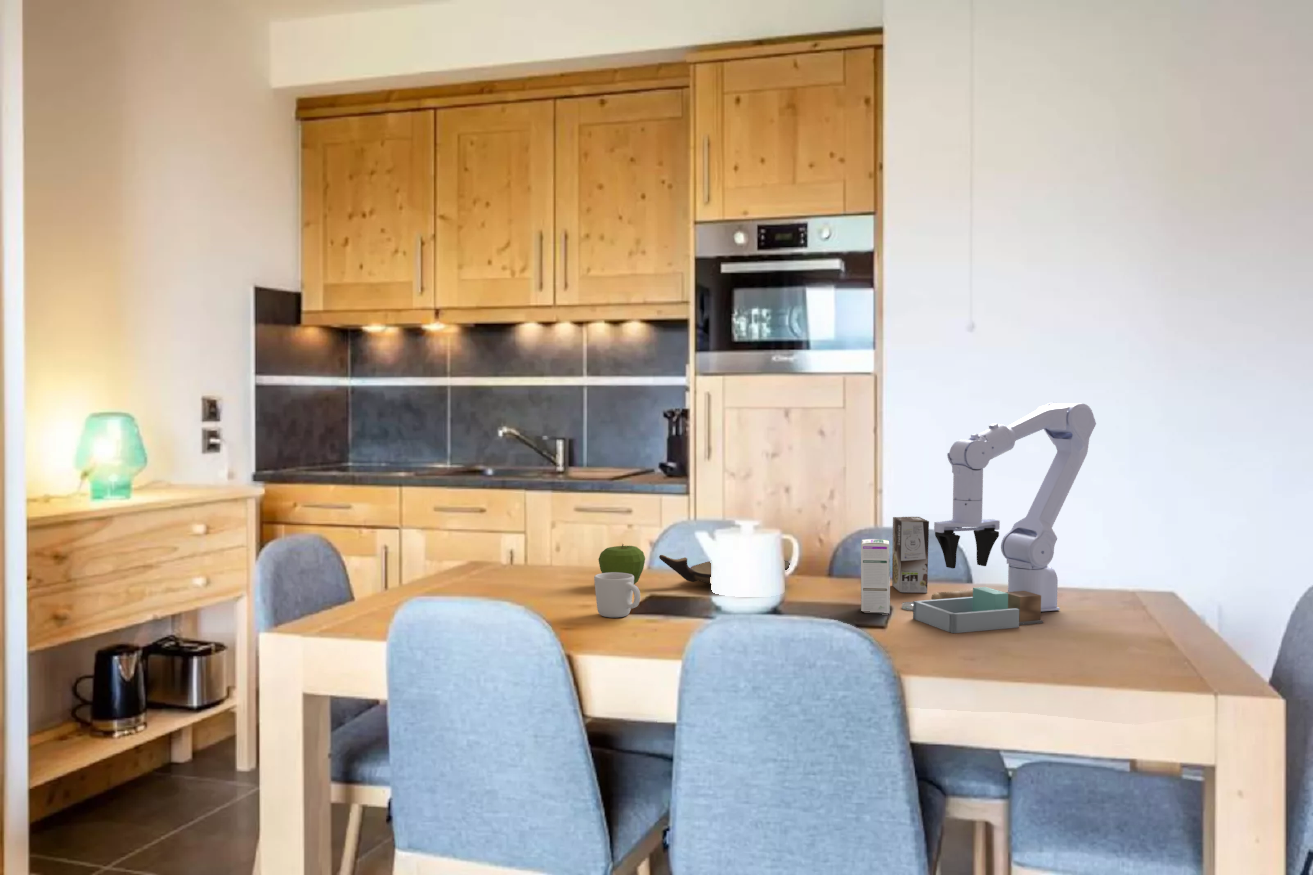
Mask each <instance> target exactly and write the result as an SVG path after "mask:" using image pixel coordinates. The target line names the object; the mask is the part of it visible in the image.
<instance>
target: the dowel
mask: <svg viewBox="0 0 1313 875" xmlns="http://www.w3.org/2000/svg"><path fill="white" fill-rule="evenodd" d="M962 597H973V589H968V590H967V589H965V590H953V591H944V592H943V591H940V592H939V591H937V592H933V594H932V595H931V599H930V600H936V599H949V598H962Z"/></svg>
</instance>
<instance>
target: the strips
mask: <svg viewBox="0 0 1313 875" xmlns="http://www.w3.org/2000/svg"><path fill="white" fill-rule="evenodd" d="M1036 623H1037V624H1043V623H1044V620H1036V621H1024V622H1019V626H1024V625H1035V624H1036Z"/></svg>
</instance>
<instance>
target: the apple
mask: <svg viewBox="0 0 1313 875" xmlns="http://www.w3.org/2000/svg"><path fill="white" fill-rule="evenodd" d="M597 560H598V565H599V569H600V572H601V573H611V572H618V573H628V574H632V575H633V576H634V585H636V584H637V583H638V582H639V579H640V577H641V576H642V573H643V570H644V567H645V563H646V557H645V554H644V552H643V550H641V549H640V548H639V547H637V546H634V545H624V544H623V543H622V544H621V545H615V546H610V547H607V548H605V549H604V550H603V551H601V552H600V554H599V557H598V559H597Z"/></svg>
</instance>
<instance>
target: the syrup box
mask: <svg viewBox="0 0 1313 875" xmlns="http://www.w3.org/2000/svg"><path fill="white" fill-rule="evenodd" d="M890 559H891V558H890V541H889V539H882V538H867V539H861V542H860V601H861V602H860V612H861V611H870V612H884V613H889V614H890V612H891V611H890V609H891V608H890V606H891V604H890V603H891V601H890V600H891V564H890V562H891V560H890Z"/></svg>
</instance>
